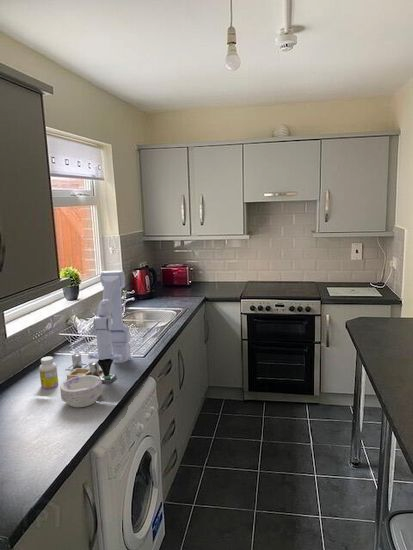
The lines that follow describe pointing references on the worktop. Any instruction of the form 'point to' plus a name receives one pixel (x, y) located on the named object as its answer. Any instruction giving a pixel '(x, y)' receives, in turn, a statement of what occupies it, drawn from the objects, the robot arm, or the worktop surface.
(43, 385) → the supplement bottle
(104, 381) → the grey square socket block
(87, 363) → the tray
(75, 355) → the billet
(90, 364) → the seated billet
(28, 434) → the worktop surface
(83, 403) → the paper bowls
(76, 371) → the wooden compartment tray
